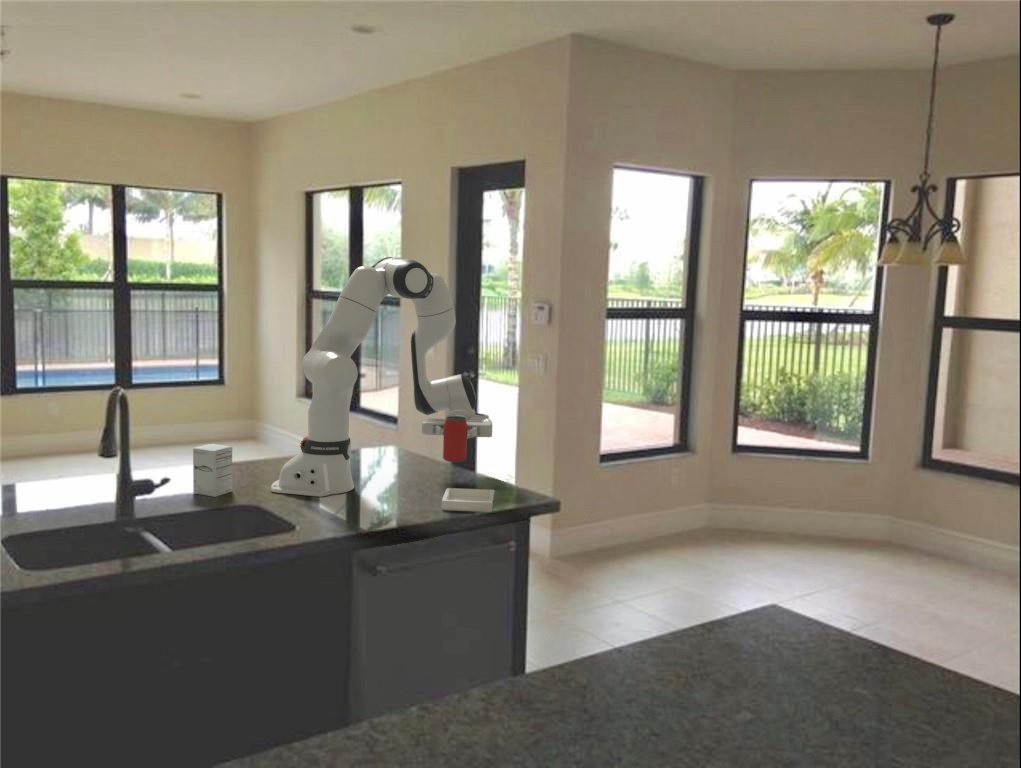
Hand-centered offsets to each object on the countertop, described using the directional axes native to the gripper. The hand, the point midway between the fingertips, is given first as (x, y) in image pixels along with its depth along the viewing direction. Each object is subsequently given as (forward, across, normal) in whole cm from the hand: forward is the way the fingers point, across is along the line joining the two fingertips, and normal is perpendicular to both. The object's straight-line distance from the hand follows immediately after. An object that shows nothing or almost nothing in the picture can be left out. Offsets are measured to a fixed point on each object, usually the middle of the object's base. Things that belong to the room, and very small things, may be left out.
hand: (455, 433), depth 234 cm
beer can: (-1, 0, +8) cm, 8 cm away
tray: (+13, +5, +17) cm, 21 cm away
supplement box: (+11, -64, +17) cm, 67 cm away
